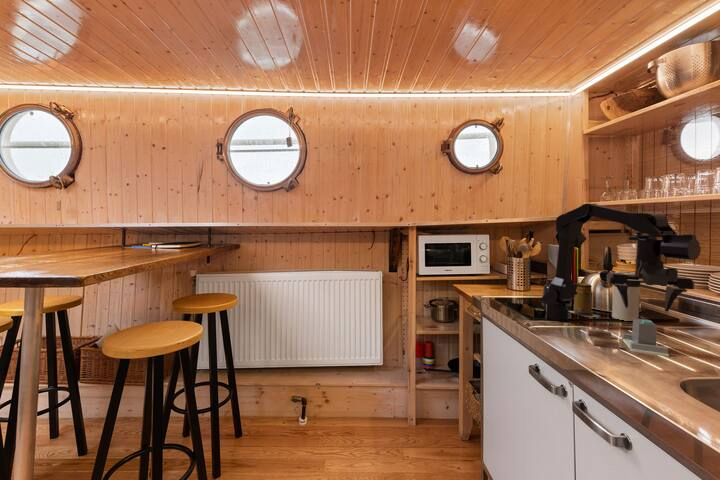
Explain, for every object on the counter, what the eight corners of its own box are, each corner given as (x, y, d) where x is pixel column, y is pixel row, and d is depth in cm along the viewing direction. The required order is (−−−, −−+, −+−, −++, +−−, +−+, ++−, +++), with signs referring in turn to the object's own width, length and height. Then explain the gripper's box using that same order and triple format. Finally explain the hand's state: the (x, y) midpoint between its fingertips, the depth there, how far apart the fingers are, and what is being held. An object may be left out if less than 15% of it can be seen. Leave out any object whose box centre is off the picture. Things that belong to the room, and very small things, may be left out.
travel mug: (630, 323, 122) (633, 274, 121) (607, 317, 130) (609, 271, 129) (642, 320, 126) (645, 273, 125) (619, 315, 133) (622, 270, 132)
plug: (637, 347, 97) (639, 320, 96) (631, 340, 102) (633, 315, 102) (655, 349, 95) (657, 322, 94) (648, 342, 100) (650, 317, 100)
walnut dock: (594, 346, 99) (594, 340, 99) (587, 334, 110) (587, 328, 110) (619, 350, 96) (619, 343, 96) (609, 337, 107) (609, 331, 107)
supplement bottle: (554, 309, 141) (555, 281, 140) (538, 305, 147) (539, 278, 146) (563, 307, 144) (565, 280, 143) (548, 304, 150) (549, 277, 149)
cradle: (632, 352, 95) (632, 344, 95) (621, 339, 106) (621, 332, 106) (668, 357, 91) (669, 349, 91) (653, 343, 102) (653, 336, 102)
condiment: (582, 310, 139) (583, 282, 139) (600, 316, 131) (602, 286, 130) (567, 311, 138) (568, 283, 137) (585, 317, 129) (587, 287, 129)
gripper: (616, 257, 94) (613, 312, 95) (705, 261, 86) (702, 321, 86) (607, 254, 104) (604, 303, 105) (686, 257, 96) (683, 311, 96)
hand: (645, 309), depth 98 cm, fingers open, 9 cm apart
